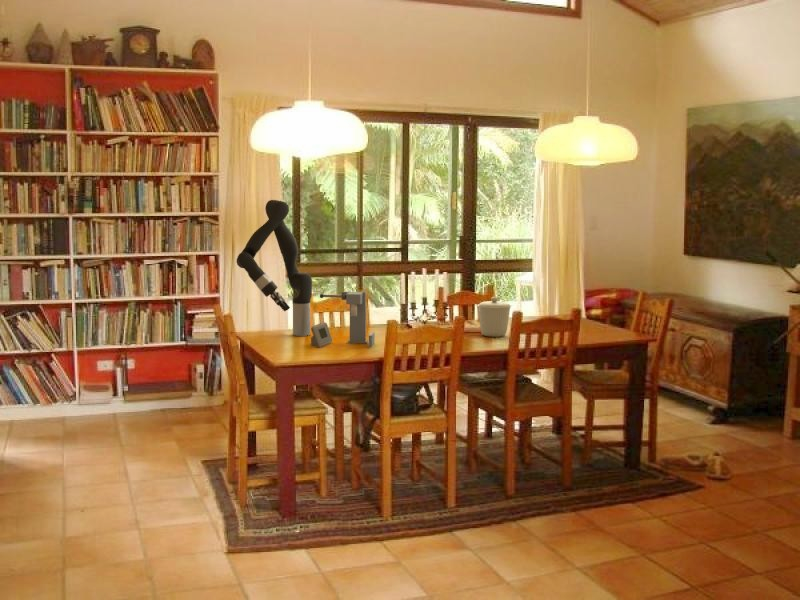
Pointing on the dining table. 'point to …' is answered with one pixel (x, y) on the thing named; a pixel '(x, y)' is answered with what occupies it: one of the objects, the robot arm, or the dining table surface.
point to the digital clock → (320, 335)
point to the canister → (494, 317)
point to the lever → (333, 296)
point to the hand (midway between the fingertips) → (287, 309)
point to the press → (358, 318)
